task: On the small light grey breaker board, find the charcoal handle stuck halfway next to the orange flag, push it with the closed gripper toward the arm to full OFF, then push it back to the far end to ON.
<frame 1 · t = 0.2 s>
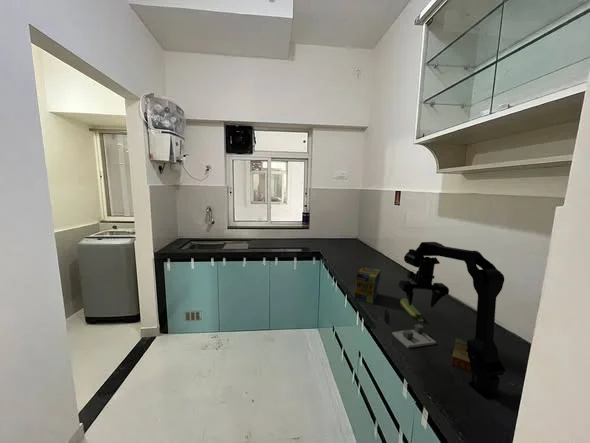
hand: (420, 306, 114), 15 cm above the worktop, tool pointing down, fingers open, 9 cm apart
carton: (464, 360, 104), on the worktop
breaker tripped: (408, 334, 114), point 3 cm above the worktop, slide at 0.0 cm
protein box: (366, 297, 156), on the worktop
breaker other: (418, 328, 119), point 3 cm above the worktop, slide at 3.0 cm
edible corn: (409, 313, 139), on the worktop
breaker board: (413, 339, 116), on the worktop
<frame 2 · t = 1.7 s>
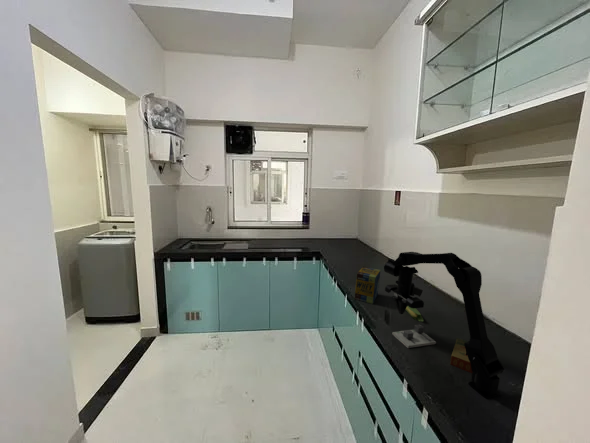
hand: (401, 313, 119), 9 cm above the worktop, tool pointing down, fingers closed
nothing on the worktop moved.
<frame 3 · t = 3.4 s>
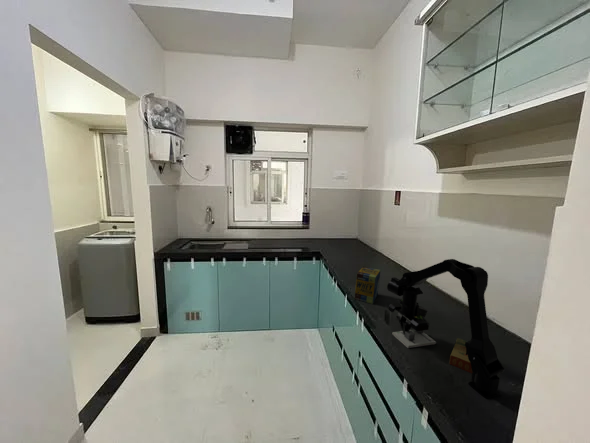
hand: (405, 334, 116), 1 cm above the worktop, tool pointing down, fingers closed
breaker tripped: (409, 335, 113), point 3 cm above the worktop, slide at -0.9 cm, touching gripper
everything else where it was.
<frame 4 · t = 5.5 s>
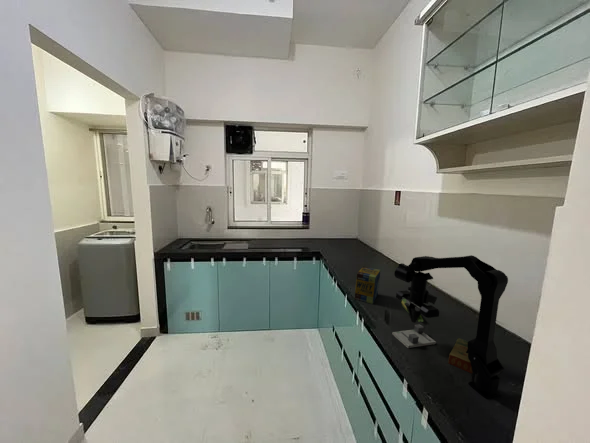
hand: (413, 322, 111), 9 cm above the worktop, tool pointing down, fingers closed
breaker tripped: (413, 338, 111), point 3 cm above the worktop, slide at -3.1 cm
everything else where it was.
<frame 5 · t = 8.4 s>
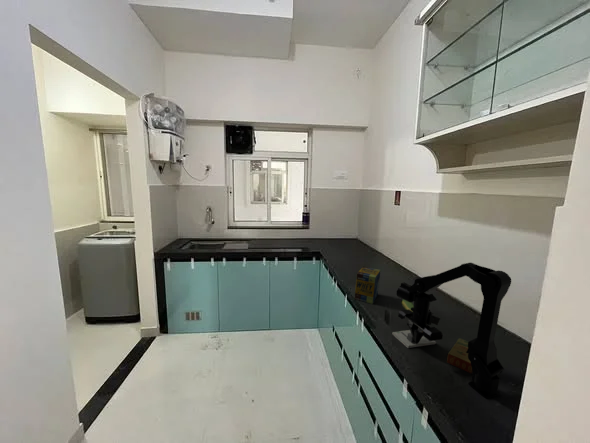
hand: (416, 343, 110), 2 cm above the worktop, tool pointing down, fingers closed
breaker tripped: (412, 337, 112), point 3 cm above the worktop, slide at -2.3 cm, touching gripper
everything else where it was.
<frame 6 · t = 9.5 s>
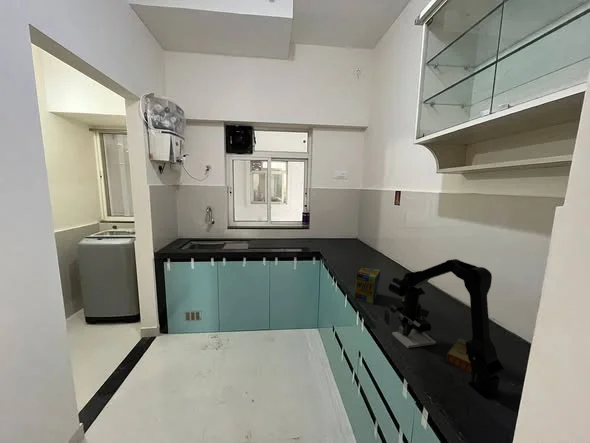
hand: (407, 335, 115), 2 cm above the worktop, tool pointing down, fingers closed
breaker tripped: (403, 330, 117), point 3 cm above the worktop, slide at 3.1 cm, touching gripper
everything else where it was.
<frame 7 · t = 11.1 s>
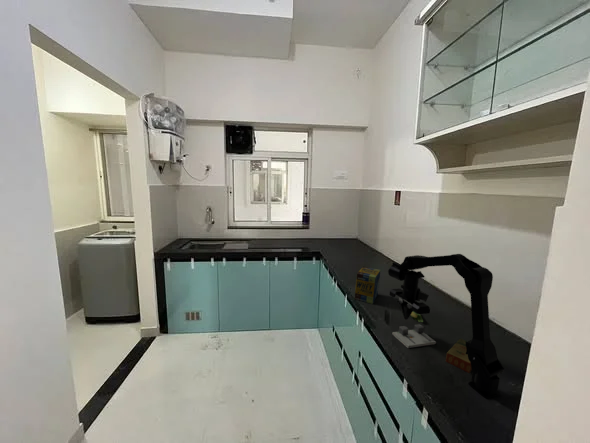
hand: (406, 319, 116), 8 cm above the worktop, tool pointing down, fingers closed
breaker tripped: (403, 330, 117), point 3 cm above the worktop, slide at 3.1 cm
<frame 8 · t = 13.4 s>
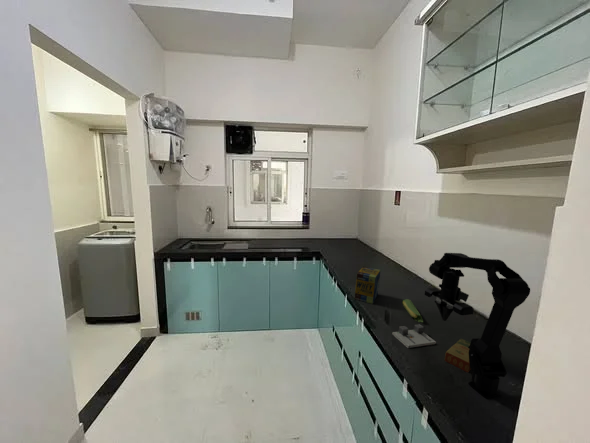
hand: (444, 320, 109), 12 cm above the worktop, tool pointing down, fingers closed
at the end: breaker tripped slide at 3.1 cm; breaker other slide at 3.0 cm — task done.
